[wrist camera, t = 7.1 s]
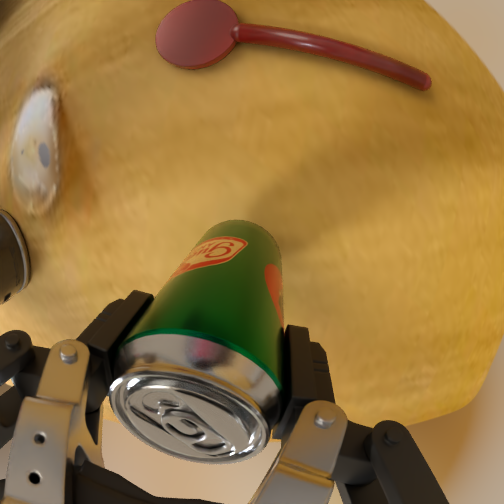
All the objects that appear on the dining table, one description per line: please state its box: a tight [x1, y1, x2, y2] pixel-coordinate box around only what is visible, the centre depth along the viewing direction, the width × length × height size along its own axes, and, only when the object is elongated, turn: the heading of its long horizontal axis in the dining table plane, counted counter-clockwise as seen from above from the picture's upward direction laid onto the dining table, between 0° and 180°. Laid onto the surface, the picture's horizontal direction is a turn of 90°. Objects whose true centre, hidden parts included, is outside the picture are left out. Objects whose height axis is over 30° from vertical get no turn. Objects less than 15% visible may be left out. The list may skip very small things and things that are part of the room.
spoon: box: [156, 0, 432, 91], centre depth 13 cm, size 18×6×1 cm, turn 80°
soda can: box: [109, 220, 286, 464], centre depth 12 cm, size 5×5×12 cm
